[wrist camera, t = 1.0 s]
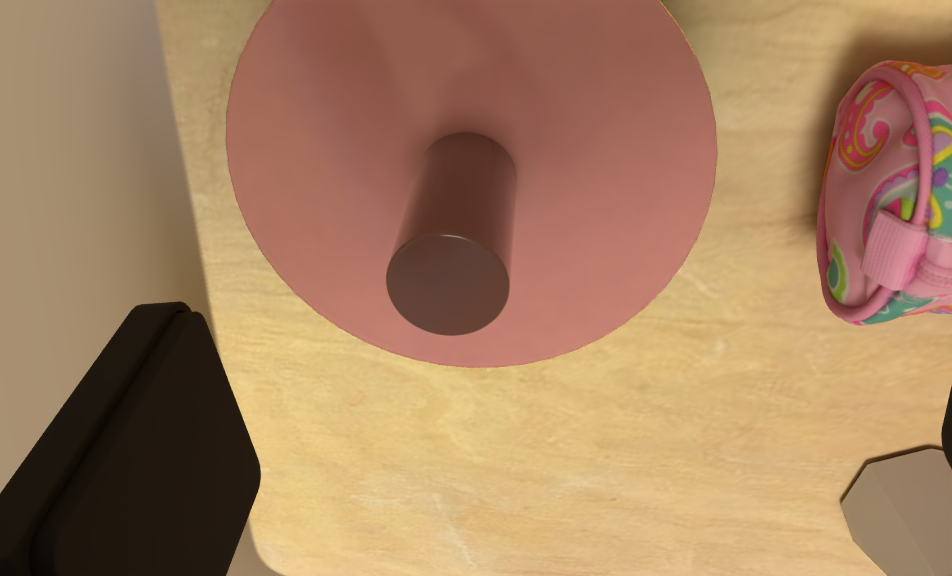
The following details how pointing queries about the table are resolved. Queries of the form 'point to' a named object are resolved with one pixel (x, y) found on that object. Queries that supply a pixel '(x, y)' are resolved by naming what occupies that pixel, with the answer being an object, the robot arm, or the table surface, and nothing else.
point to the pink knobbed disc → (472, 167)
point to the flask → (904, 514)
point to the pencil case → (889, 196)
